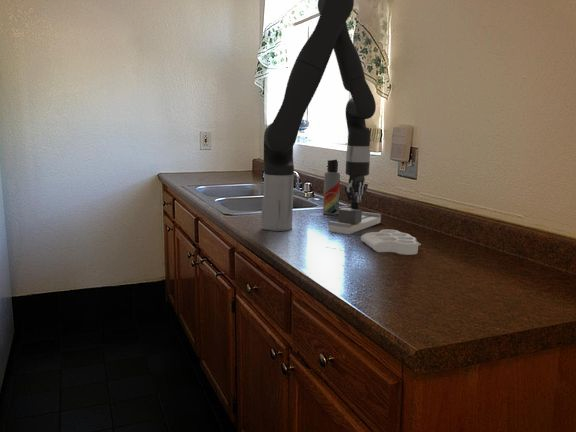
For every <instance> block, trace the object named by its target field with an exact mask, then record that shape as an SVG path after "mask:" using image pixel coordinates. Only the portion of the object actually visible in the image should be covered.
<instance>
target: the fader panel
mask: <svg viewBox="0 0 576 432" xmlns="http://www.w3.org/2000/svg"><path fill="white" fill-rule="evenodd" d="M381 219H382V214H381V213H378V212H377V213H376V212H368V211H362V219H361V222H360V223H357V224H351V223H344V222H338V221H332V220H330V221H328V232H331V233H332V232H333V233H338V234H345V235H351V234H353V233H356V232H358V231H361V230H363V229H366V228H369V227H372V226H375V225H378V224H380V223H381Z"/></svg>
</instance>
